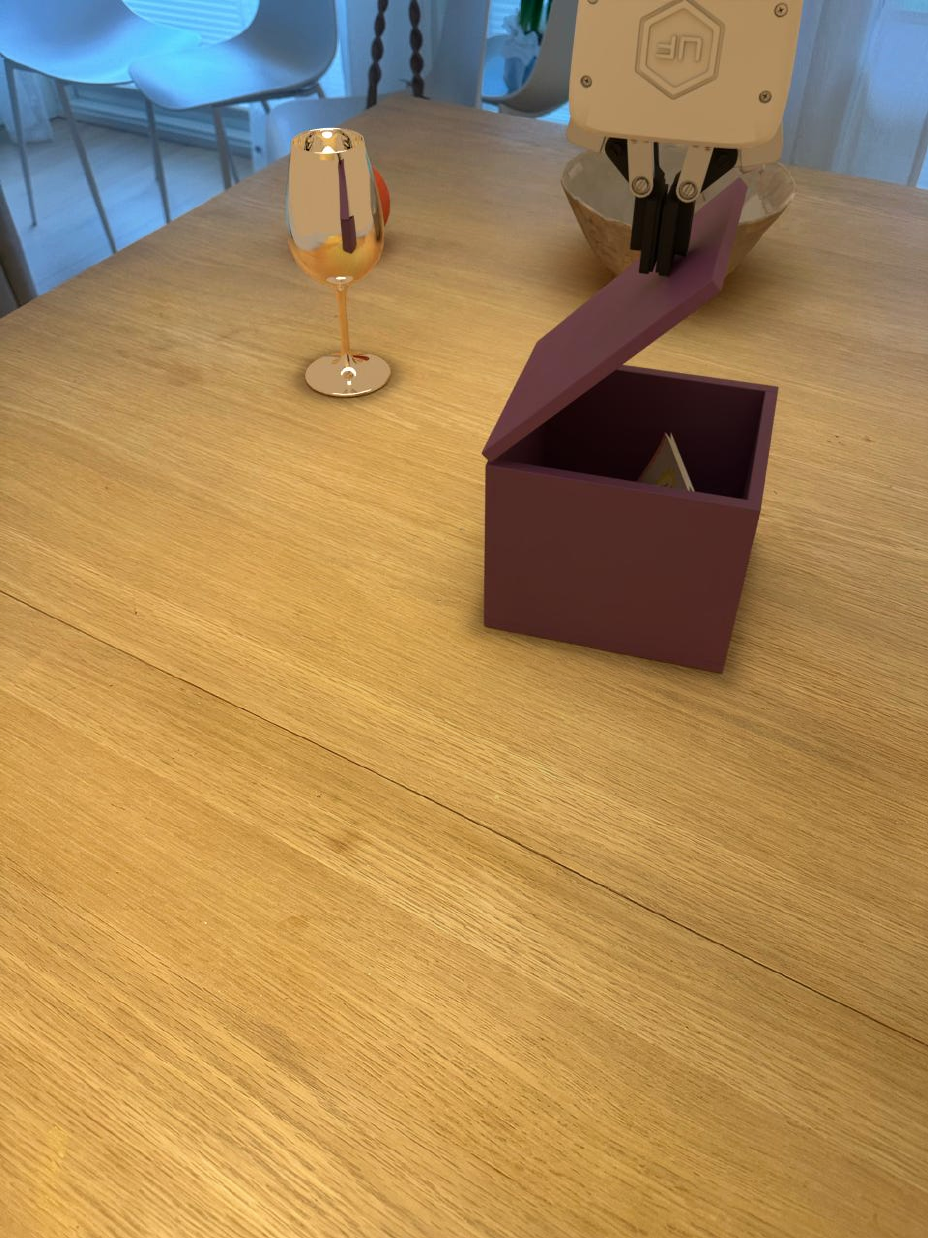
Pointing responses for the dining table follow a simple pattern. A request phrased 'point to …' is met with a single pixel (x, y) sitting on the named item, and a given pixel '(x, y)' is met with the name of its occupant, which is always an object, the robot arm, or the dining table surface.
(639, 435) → the purple box
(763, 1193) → the dining table surface
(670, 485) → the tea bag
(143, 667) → the dining table surface
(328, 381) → the wineglass
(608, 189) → the ceramic bowl
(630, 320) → the purple box lid
